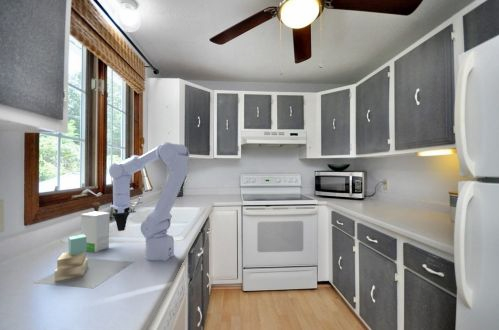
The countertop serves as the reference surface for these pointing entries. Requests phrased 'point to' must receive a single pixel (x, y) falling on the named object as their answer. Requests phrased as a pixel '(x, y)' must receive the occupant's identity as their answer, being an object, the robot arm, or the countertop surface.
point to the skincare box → (95, 230)
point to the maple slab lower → (71, 272)
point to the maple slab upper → (70, 260)
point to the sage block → (77, 244)
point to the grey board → (90, 274)
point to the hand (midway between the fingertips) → (121, 228)
